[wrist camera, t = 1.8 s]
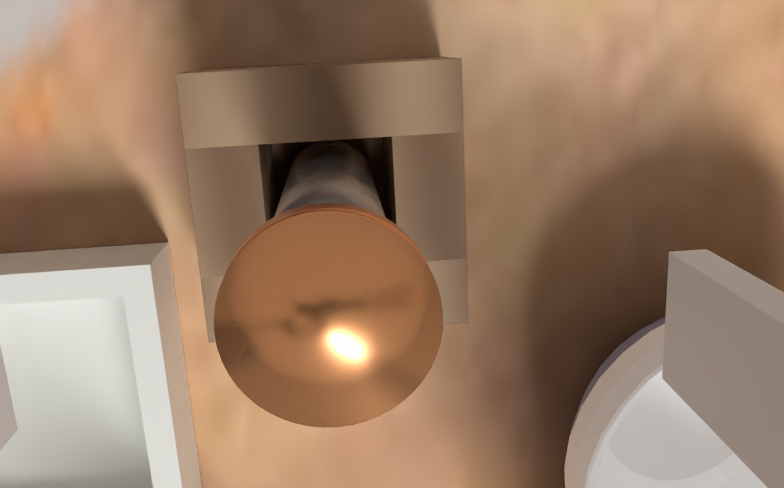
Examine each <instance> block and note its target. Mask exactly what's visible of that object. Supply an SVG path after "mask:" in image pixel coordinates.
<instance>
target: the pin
mask: <svg viewBox="0 0 784 488" xmlns="http://www.w3.org/2000/svg"><path fill="white" fill-rule="evenodd" d="M442 330H443V310H442V301H441V297H440V293H439V289H438V286H437V284H436V281H435V279H434V276H433V274H432V272H431V269H430V267H429V265H428V263H427V261H426V259H425V257H424V256H423V254H422V252H421V250H420V249H419V248H418V246H417V245H416V244H415V242H414V241H413V240H412V239H411V238H410V237H409V236H408V235H407V234H406V233H405V232H404V231H403V230H402V229H401V228H400V227H398V226H397V225H396V224H394V223H393V222H392V221H390V220H389V219H387V218H386V217H385V214H384V211H383V208H382V205H381V202H380V199H379V196H378V192H377V189H376V186H375V183H374V180H373V177H372V174H371V171H370V168H369V165H368V163H367V161H366V160H365V158H364V157H363V155H362V154H361V153H360V152H359V151H358V150H356V149H355V148H354V147H352V146H351V145H349V144H346V143H344V142H341V141H335V140H326V141H319V142H316V143H313V144H311V145H309V146H308V147H306V148H305V149H304V150H302V151H301V152H300V153H299V154H298V156H297V157H296V158H295V160H294V162H293V163H292V166H291V169H290V171H289V174H288V177H287V180H286V183H285V186H284V189H283V192H282V195H281V198H280V201H279V204H278V207H277V210H276V213H275V216H274V218H272V219H270V220H268V221H267V222H265V223H264V224H263V225H261V226H260V227H259V228H257V229H256V230H255V231H254V232H253V233H252V234H251V235H250V236H249V237H248V238H247V239H246V240H245V241H244V243H243V244H242V245H241V246H240V248H239V249H238V250H237V252H236V254H235V255H234V257H233V259H232V261H231V263H230V265H229V267H228V269H227V271H226V273H225V275H224V277H223V280H222V283H221V285H220V288H219V290H218V294H217V298H216V302H215V309H214V334H215V339H216V344H217V349H218V351H219V354H220V357H221V360H222V362H223V364H224V366H225V368H226V370H227V372H228V374H229V375H230V377H231V378H232V380H233V381H234V382H235V384H236V385H237V386H238V387H239V388H240V390H241V391H242V392H243V393H244V394H245V395H246V396H247V397H248V398H250V399H251V400H252V401H253V402H254V403H255V404H257V405H258V406H260V407H261V408H263V409H264V410H266V411H267V412H269V413H271V414H273V415H275V416H277V417H279V418H282V419H284V420H287V421H290V422H293V423H297V424H302V425H306V426H313V427H342V426H348V425H354V424H358V423H361V422H365V421H368V420H370V419H373V418H375V417H378V416H380V415H382V414H384V413H386V412H387V411H389V410H391V409H393V408H394V407H395V406H397V405H398V404H400V403H401V402H402V401H404V400H405V399H406V398H407V397H408V396H409V395H410V394H411V393H412V392H413V391H414V390H415V389H416V388H417V387H418V386H419V384H420V383H421V382H422V381H423V379H424V378H425V376H426V375H427V373H428V372H429V370H430V368H431V366H432V364H433V362H434V360H435V358H436V355H437V352H438V349H439V346H440V342H441V336H442Z"/></svg>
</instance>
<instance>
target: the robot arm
mask: <svg viewBox="0 0 784 488" xmlns="http://www.w3.org/2000/svg"><path fill="white" fill-rule="evenodd" d="M662 379H663V380H664V381H665V382H666V383H667V384H668V385H669V386H670V387H671V388H672V389H673V390H674V391H675V392H676V393H677V394H678V395H679V396H680V397H681V398H682V400H683V401H684V402H685V403H686V404H687V405H688V406H689V407H690V408H691V409H692V410H693V411H694V412H695V413H696V414H697V415H698V416H699V417H700V418H701V419H702V420H703V421H704V422H705V423H706V424H707V425H708V426H709V427H710V429H711V430H712V431H713V432H714V433H715V434H716V435H717V436H718V437H719V438H720V439H721V440H722V441H723V442H724V443H725V444H726V445H727V446H728V447H729V448H730V449H731V450H732V451H733V452H734V453H735V454H736V455H737V456H738V458H739V459H740V460H741V461H742V462H743V463H744V464H745V465H746V466H747V467H748V468H749V469H750V470H751V471H752V472H753V473H754V474H755V475H756V476H757V477H758V478H759V479H760V480H761V481H762V482H763V483H764V484H765V485H766V487H767V488H784V292H782V291H781V290H779V289H777V288H775V287H773V286H772V285H770V284H768V283H766V282H764V281H763V280H761V279H759V278H757V277H755V276H754V275H752V274H750V273H748V272H747V271H745V270H743V269H741V268H739V267H738V266H736V265H734V264H732V263H730V262H729V261H727V260H725V259H723V258H721V257H720V256H718V255H716V254H714V253H713V252H711V251H709V250H707V249H701V250H686V251H672V252H669V260H668V279H667V298H666V316H665V335H664V354H663V373H662ZM17 430H18V427H17V422H16V417H15V413H14V408H13V403H12V398H11V394H10V389H9V384H8V379H7V374H6V370H5V365H4V360H3V355H2V351H1V346H0V450H1V449H2V448H3V447H4V446H5V444H6V443H7V442H8V441H9V440H10V438H11V437H12V436H13V435H14V434H15V432H16V431H17Z"/></svg>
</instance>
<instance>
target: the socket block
mask: <svg viewBox="0 0 784 488" xmlns="http://www.w3.org/2000/svg"><path fill="white" fill-rule="evenodd" d="M175 78H176V86H177V94H178V102H179V110H180V118H181V126H182V134H183V142H184V150H185V158H186V166H187V174H188V182H189V190H190V198H191V206H192V214H193V222H194V230H195V238H196V245H197V253H198V261H199V269H200V277H201V285H202V293H203V301H204V309H205V317H206V325H207V333H208V341H209V343H210V342H216V339H215V334H214V309H215V302H216V298H217V294H218V290H219V288H220V285H221V283H222V280H223V277H224V275H225V273H226V271H227V269H228V267H229V265H230V263H231V261H232V259H233V257H234V255H235V254H236V252H237V250H238V249H239V248H240V246H241V245H242V244H243V243H244V241H245V240H246V239H247V238H248V237H249V236H250V235H251V234H252V233H253V232H254V231H255V230H256V229H257V228H259V227H260V226H261V225H263V224H264V223H265V222H267V221H268V220H270V219H272V218H274V216H275V213H276V210H277V204H276V193H275V182H274V172H273V161H272V151H271V144H276V143H293V142H309V141H326V140H342V139H358V138H375V137H383V139H384V158H385V177H386V195H387V214H388V219H389V220H390V221H392V222H393V223H394V224H396V225H397V226H398V227H400V228H401V229H402V230H403V231H404V232H405V233H406V234H407V235H408V236H409V237H410V238H411V239H412V240H413V241H414V242H415V244H416V245H417V246H418V248H419V249H420V250H421V252H422V254H423V256H424V257H425V259H426V261H427V263H428V265H429V267H430V269H431V272H432V274H433V276H434V279H435V281H436V284H437V286H438V289H439V293H440V297H441V301H442V310H443V324H455V323H468V304H467V264H466V223H465V183H464V143H463V103H462V62H461V58H450V57H426V58H408V59H389V60H370V61H352V62H333V63H315V64H296V65H278V66H259V67H240V68H222V69H203V70H195V71H189V72H184V73H178V74H175Z"/></svg>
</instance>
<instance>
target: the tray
mask: <svg viewBox="0 0 784 488" xmlns="http://www.w3.org/2000/svg"><path fill="white" fill-rule="evenodd" d="M0 346H1V351H2V355H3V360H4V365H5V370H6V374H7V379H8V384H9V389H10V394H11V398H12V403H13V408H14V413H15V417H16V422H17V427H18V430H17V431H16V432H15V434H14V435H13V436H12V437H11V438H10V440H9V441H8V442H7V443H6V444H5V446H4V447H3V448H2V449H1V450H0V488H202V485H201V478H200V470H199V463H198V455H197V448H196V441H195V433H194V426H193V419H192V411H191V404H190V397H189V389H188V382H187V375H186V367H185V360H184V352H183V345H182V338H181V330H180V323H179V316H178V308H177V301H176V294H175V286H174V279H173V272H172V264H171V257H170V250H169V242H165V243H150V244H135V245H121V246H106V247H92V248H77V249H63V250H48V251H34V252H19V253H4V254H0Z"/></svg>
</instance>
